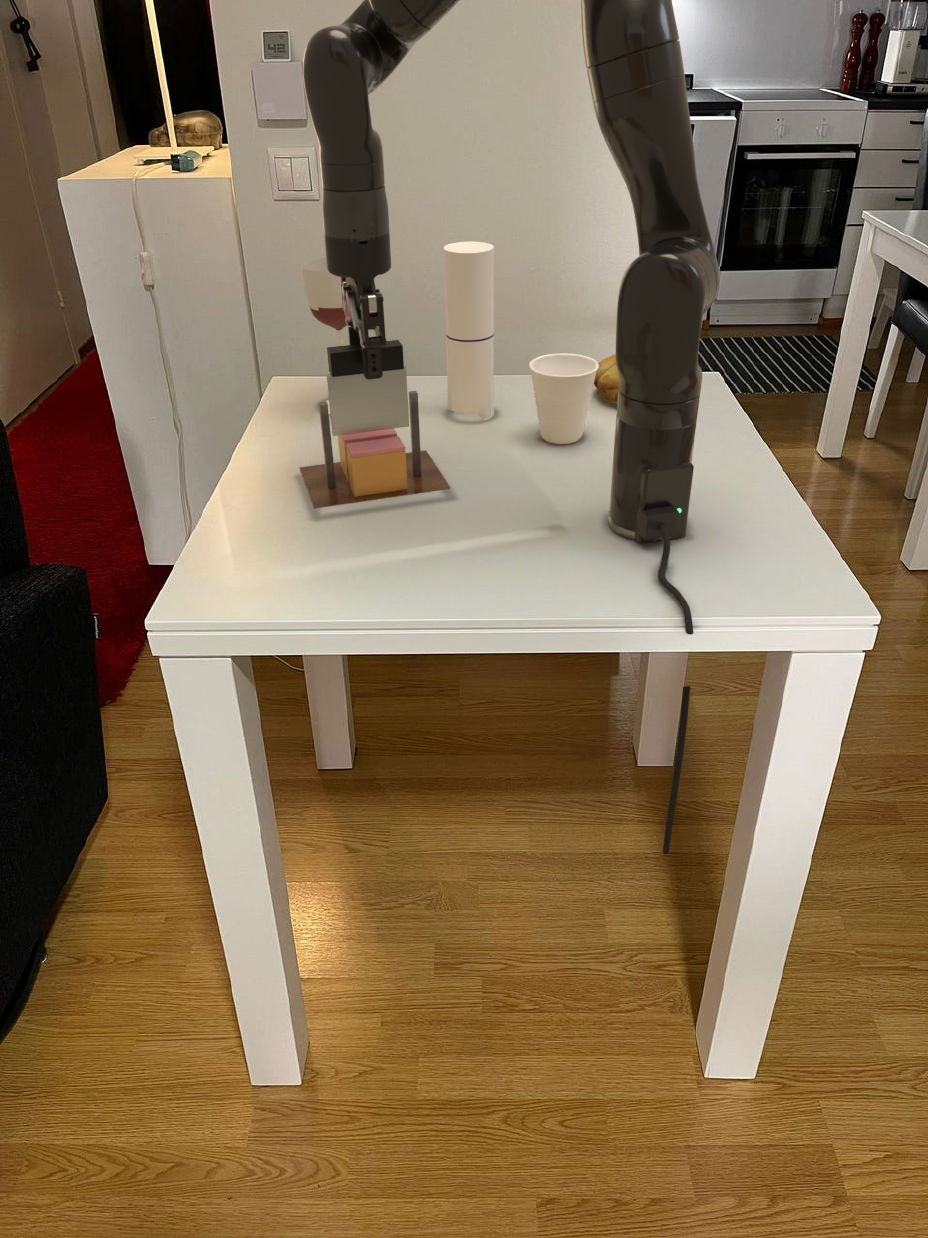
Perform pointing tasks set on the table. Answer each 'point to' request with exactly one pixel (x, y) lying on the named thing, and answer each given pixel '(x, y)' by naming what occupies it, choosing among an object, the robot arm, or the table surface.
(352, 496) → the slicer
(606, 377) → the bread roll
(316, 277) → the wineglass
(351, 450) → the cake
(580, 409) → the cup
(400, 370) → the black handled scraper
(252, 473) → the table surface
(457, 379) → the cylindrical container
